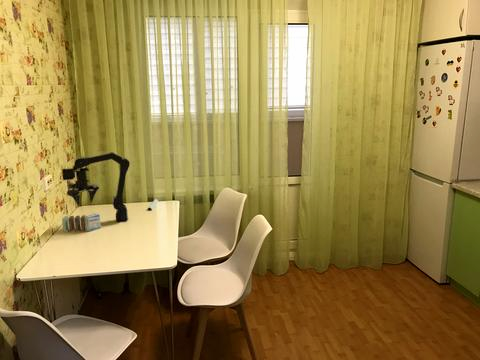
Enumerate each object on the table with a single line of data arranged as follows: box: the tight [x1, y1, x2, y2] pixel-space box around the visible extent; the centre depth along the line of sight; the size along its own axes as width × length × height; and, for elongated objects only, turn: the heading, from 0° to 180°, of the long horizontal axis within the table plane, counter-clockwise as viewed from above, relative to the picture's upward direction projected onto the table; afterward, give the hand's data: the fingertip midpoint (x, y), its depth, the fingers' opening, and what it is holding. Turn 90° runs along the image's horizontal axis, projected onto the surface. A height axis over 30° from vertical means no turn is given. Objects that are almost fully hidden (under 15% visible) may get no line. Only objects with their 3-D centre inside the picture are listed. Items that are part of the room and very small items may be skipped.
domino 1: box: [80, 215, 87, 232], centre depth 231 cm, size 2×5×8 cm, turn 6°
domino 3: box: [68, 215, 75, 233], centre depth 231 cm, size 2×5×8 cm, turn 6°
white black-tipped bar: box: [146, 198, 159, 211], centre depth 278 cm, size 23×7×3 cm, turn 1°
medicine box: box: [84, 213, 102, 232], centre depth 232 cm, size 8×4×9 cm, turn 143°
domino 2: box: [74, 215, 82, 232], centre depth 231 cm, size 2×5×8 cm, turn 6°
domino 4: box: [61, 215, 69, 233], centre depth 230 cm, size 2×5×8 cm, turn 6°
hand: (84, 203), depth 238 cm, fingers open, 9 cm apart
